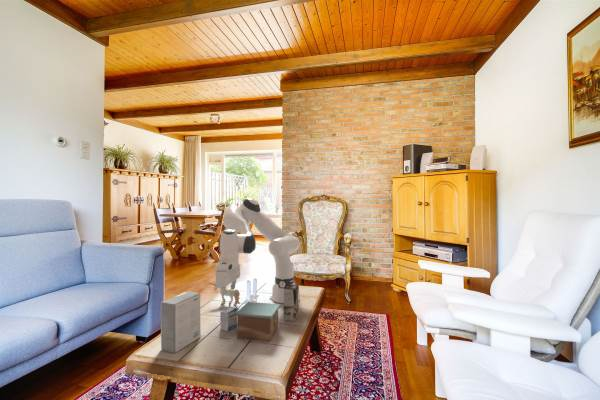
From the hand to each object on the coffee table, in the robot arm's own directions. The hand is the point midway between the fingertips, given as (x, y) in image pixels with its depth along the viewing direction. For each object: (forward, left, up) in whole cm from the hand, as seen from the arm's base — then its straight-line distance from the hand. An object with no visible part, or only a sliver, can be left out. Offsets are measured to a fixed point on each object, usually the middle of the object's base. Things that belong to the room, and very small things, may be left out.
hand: (228, 291), depth 141 cm
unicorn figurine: (-26, -15, -17) cm, 35 cm away
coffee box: (-18, +27, -17) cm, 37 cm away
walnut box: (+3, +16, -17) cm, 24 cm away
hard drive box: (+19, -13, -17) cm, 29 cm away
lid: (+3, +16, -7) cm, 18 cm away
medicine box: (0, 0, -17) cm, 17 cm away
